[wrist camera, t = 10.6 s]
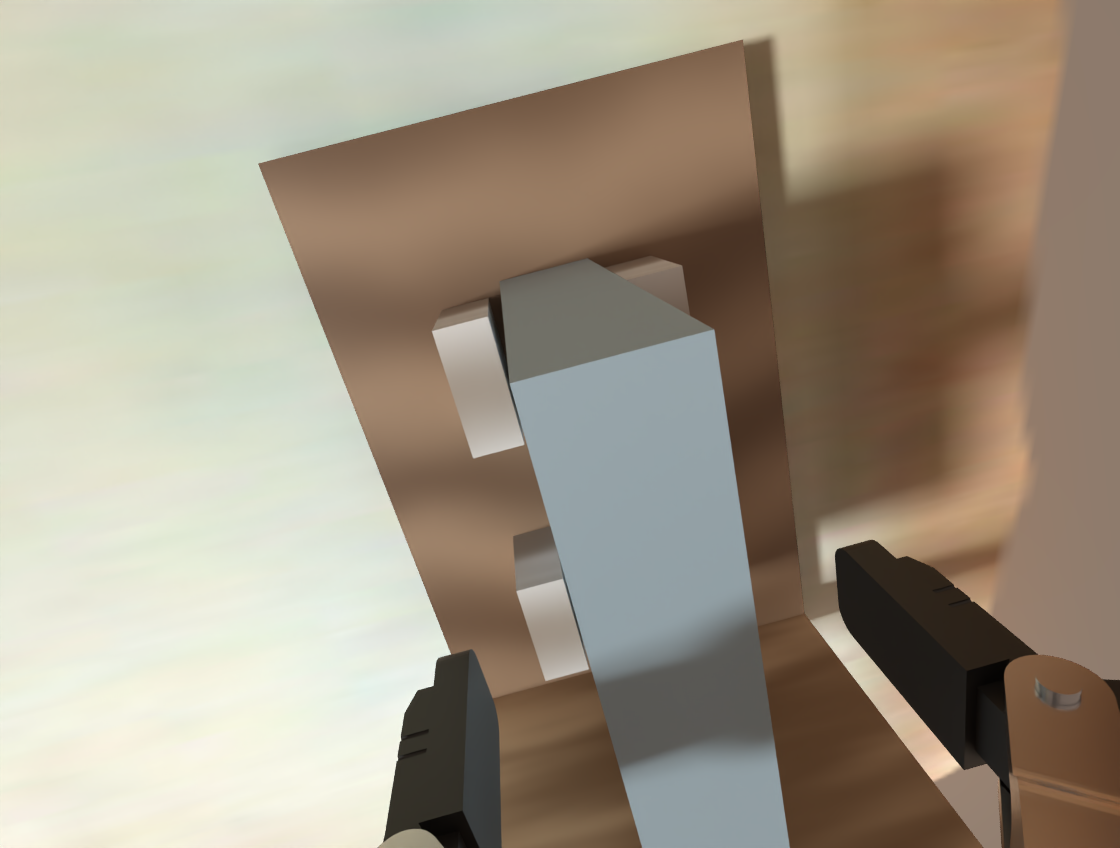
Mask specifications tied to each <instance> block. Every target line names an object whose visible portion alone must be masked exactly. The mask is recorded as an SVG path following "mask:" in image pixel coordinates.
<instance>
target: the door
mask: <svg viewBox="0 0 1120 848" xmlns="http://www.w3.org/2000/svg"><path fill="white" fill-rule="evenodd" d="M499 282H500V292H501V302H502V312H503V322H504V332H505V342H506V352H507V362H508V372H509V382H510V387H511V390H512V394H513V397H514V401H515V404H516V408H517V411H518V415H519V418H520V422H521V425H522V429H523V432H524V436H525V439H526V443H527V446H528V450H529V453H530V457H531V460H532V464H533V467H534V471H535V474H536V478H537V481H538V485H539V488H540V492H541V495H542V499H543V502H544V506H545V509H546V513H547V516H548V520H549V523H550V527H551V530H552V534H553V537H554V541H555V544H556V548H557V551H558V555H559V558H560V562H561V565H562V569H563V572H564V576H565V579H566V583H567V586H568V590H569V593H570V597H571V600H572V604H573V607H574V611H575V614H576V618H577V621H578V625H579V628H580V632H581V635H582V639H583V642H584V646H585V649H586V653H587V656H588V660H589V663H590V667H591V670H592V674H593V677H594V681H595V684H596V688H597V691H598V695H599V698H600V702H601V705H602V709H603V712H604V716H605V719H606V723H607V726H608V730H609V733H610V737H611V740H612V744H613V747H614V751H615V754H616V758H617V761H618V765H619V768H620V772H621V775H622V779H623V782H624V786H625V789H626V793H627V796H628V800H629V803H630V807H631V810H632V814H633V817H634V821H635V824H636V828H637V831H638V835H639V838H640V842H641V845H642V848H790V846H789V839H788V832H787V825H786V818H785V811H784V805H783V798H782V791H781V784H780V777H779V770H778V763H777V757H776V750H775V743H774V736H773V729H772V722H771V715H770V709H769V702H768V695H767V688H766V681H765V674H764V667H763V661H762V654H761V647H760V640H759V633H758V626H757V619H756V613H755V606H754V599H753V592H752V585H751V578H750V571H749V564H748V558H747V551H746V544H745V537H744V530H743V523H742V516H741V510H740V503H739V496H738V489H737V482H736V475H735V468H734V462H733V455H732V448H731V441H730V434H729V427H728V420H727V414H726V407H725V400H724V393H723V386H722V379H721V372H720V366H719V359H718V352H717V345H716V338H715V331H714V329H713V328H711V327H709V326H707V325H706V324H704V323H702V322H700V321H698V320H697V319H695V318H693V317H691V316H689V315H688V314H686V313H684V312H682V311H681V310H679V309H677V308H675V307H673V306H672V305H670V304H668V303H666V302H664V301H663V300H661V299H659V298H657V297H655V296H654V295H652V294H650V293H648V292H647V291H645V290H643V289H641V288H639V287H638V286H636V285H634V284H632V283H630V282H629V281H627V280H625V279H623V278H622V277H620V276H618V275H616V274H614V273H613V272H611V271H609V270H607V269H605V268H604V267H602V266H600V265H598V264H596V263H595V262H593V261H591V260H589V259H588V258H586V259H583V260H579V261H575V262H571V263H567V264H563V265H560V266H556V267H552V268H548V269H544V270H541V271H537V272H533V273H529V274H525V275H521V276H518V277H514V278H510V279H506V280H502V281H499Z"/></svg>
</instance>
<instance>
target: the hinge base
mask: <svg viewBox="0 0 1120 848" xmlns="http://www.w3.org/2000/svg"><path fill="white" fill-rule="evenodd" d="M259 167H260V169H261V172H262V175H263V177H264V180H265V182H266V185H267V187H268V190H269V192H270V195H271V197H272V200H273V203H274V205H275V208H276V210H277V213H278V215H279V218H280V220H281V223H282V225H283V228H284V230H285V233H286V236H287V238H288V241H289V243H290V246H291V248H292V251H293V253H294V256H295V258H296V261H297V264H298V266H299V269H300V271H301V274H302V276H303V279H304V281H305V284H306V286H307V289H308V291H309V294H310V297H311V299H312V302H313V304H314V307H315V309H316V312H317V314H318V317H319V319H320V322H321V325H322V327H323V330H324V332H325V335H326V337H327V340H328V342H329V345H330V347H331V350H332V352H333V355H334V358H335V360H336V363H337V365H338V368H339V370H340V373H341V375H342V378H343V380H344V383H345V386H346V388H347V391H348V393H349V396H350V398H351V401H352V403H353V406H354V408H355V411H356V413H357V416H358V419H359V421H360V424H361V426H362V429H363V431H364V434H365V436H366V439H367V441H368V444H369V447H370V449H371V452H372V454H373V457H374V459H375V462H376V464H377V467H378V469H379V472H380V474H381V477H382V480H383V482H384V485H385V487H386V490H387V492H388V495H389V497H390V500H391V502H392V505H393V508H394V510H395V513H396V515H397V518H398V520H399V523H400V525H401V528H402V530H403V533H404V535H405V538H406V541H407V543H408V546H409V548H410V551H411V553H412V556H413V558H414V561H415V563H416V566H417V569H418V571H419V574H420V576H421V579H422V581H423V584H424V586H425V589H426V591H427V594H428V596H429V599H430V602H431V604H432V607H433V609H434V612H435V614H436V617H437V619H438V622H439V624H440V627H441V630H442V632H443V635H444V637H445V640H446V642H447V645H448V647H449V650H450V652H451V655H452V654H455V653H459V652H462V651H466V650H470V649H472V650H473V651H474V652H475V654H476V656H477V659H478V661H479V664H480V667H481V669H482V672H483V674H484V677H485V680H486V682H487V685H488V687H489V690H490V693H491V695H492V698H493V701H494V704H495V708H496V712H497V717H498V723H499V741H500V789H501V838H502V848H642V845H641V842H640V838H639V835H638V831H637V828H636V824H635V821H634V817H633V814H632V810H631V807H630V803H629V800H628V796H627V793H626V789H625V786H624V782H623V779H622V775H621V772H620V768H619V765H618V761H617V758H616V754H615V751H614V747H613V744H612V740H611V737H610V733H609V730H608V726H607V723H606V719H605V716H604V712H603V709H602V705H601V702H600V698H599V695H598V691H597V688H596V684H595V681H594V677H593V674H592V670H591V667H590V663H589V660H588V656H587V653H586V649H585V646H584V642H583V639H582V635H581V632H580V628H579V625H578V621H577V618H576V614H575V611H574V607H573V604H572V600H571V597H570V593H569V590H568V586H567V583H566V579H565V576H564V572H563V569H562V565H561V562H560V558H559V555H558V551H557V548H556V544H555V541H554V537H553V534H552V530H551V527H550V523H549V520H548V516H547V513H546V509H545V506H544V502H543V499H542V495H541V492H540V488H539V485H538V481H537V478H536V474H535V471H534V467H533V464H532V460H531V457H530V453H529V450H528V446H527V443H526V439H525V436H524V432H523V429H522V425H521V422H520V418H519V415H518V411H517V408H516V404H515V401H514V397H513V394H512V390H511V387H510V382H509V372H508V362H507V352H506V342H505V332H504V322H503V312H502V302H501V292H500V282H499V281H502V280H506V279H510V278H514V277H518V276H521V275H525V274H529V273H533V272H537V271H541V270H544V269H548V268H552V267H556V266H560V265H563V264H567V263H571V262H575V261H579V260H583V259H586V258H588V259H589V260H591V261H593V262H595V263H596V264H598V265H600V266H602V267H604V268H605V269H607V270H609V271H611V272H613V273H614V274H616V275H618V276H620V277H622V278H623V279H625V280H627V281H629V282H630V283H632V284H634V285H636V286H638V287H639V288H641V289H643V290H645V291H647V292H648V293H650V294H652V295H654V296H655V297H657V298H659V299H661V300H663V301H664V302H666V303H668V304H670V305H672V306H673V307H675V308H677V309H679V310H681V311H682V312H684V313H686V314H688V315H689V316H691V317H693V318H695V319H697V320H698V321H700V322H702V323H704V324H706V325H707V326H709V327H711V328H713V329H714V331H715V338H716V345H717V352H718V359H719V366H720V372H721V379H722V386H723V393H724V400H725V407H726V414H727V420H728V427H729V434H730V441H731V448H732V455H733V462H734V468H735V475H736V482H737V489H738V496H739V503H740V510H741V516H742V523H743V530H744V537H745V544H746V551H747V558H748V564H749V571H750V578H751V585H752V592H753V599H754V606H755V613H756V619H757V626H758V633H759V640H760V647H761V654H762V661H763V667H764V674H765V681H766V688H767V695H768V702H769V709H770V715H771V722H772V729H773V736H774V743H775V750H776V757H777V763H778V770H779V777H780V784H781V791H782V798H783V805H784V811H785V818H786V825H787V832H788V839H789V846H790V848H983V847H982V845H981V844H980V843H979V841H978V840H977V839H976V838H975V836H974V835H973V833H972V832H971V831H970V830H969V828H968V827H967V826H966V824H965V823H964V822H963V821H962V819H961V818H960V816H959V815H958V814H957V813H956V811H955V810H954V809H953V807H952V806H951V805H950V803H949V802H948V801H947V799H946V798H945V797H944V796H943V794H942V793H941V792H940V790H939V789H938V788H937V786H936V785H935V784H934V782H933V781H932V780H931V779H930V777H929V776H928V775H927V773H926V772H925V771H924V769H923V768H922V767H921V765H920V764H919V763H918V762H917V760H916V759H915V758H914V756H913V755H912V754H911V752H910V751H909V750H908V748H907V747H906V746H905V745H904V743H903V742H902V741H901V739H900V738H899V737H898V735H897V734H896V733H895V731H894V730H893V729H892V728H891V726H890V725H889V724H888V722H887V721H886V720H885V718H884V717H883V716H882V714H881V713H880V712H879V711H878V709H877V708H876V707H875V705H874V704H873V703H872V701H871V700H870V699H869V697H868V696H867V695H866V694H865V692H864V691H863V690H862V688H861V687H860V686H859V684H858V683H857V682H856V680H855V679H854V678H853V677H852V675H851V674H850V673H849V671H848V670H847V669H846V667H845V666H844V665H843V663H842V662H841V661H840V660H839V658H838V657H837V656H836V654H835V653H834V652H833V650H832V649H831V648H830V646H829V645H828V644H827V643H826V641H825V640H824V639H823V637H822V636H821V635H820V633H819V632H818V631H817V629H816V628H815V627H814V626H813V624H812V623H811V622H810V620H809V619H808V618H807V616H806V615H805V614H804V605H803V596H802V587H801V577H800V568H799V559H798V549H797V540H796V531H795V521H794V512H793V503H792V493H791V484H790V475H789V465H788V456H787V447H786V437H785V428H784V419H783V410H782V400H781V391H780V382H779V372H778V363H777V354H776V344H775V335H774V326H773V316H772V307H771V298H770V288H769V279H768V270H767V260H766V251H765V242H764V232H763V223H762V214H761V205H760V195H759V186H758V177H757V167H756V158H755V149H754V139H753V130H752V121H751V111H750V102H749V93H748V83H747V74H746V65H745V55H744V46H743V40H740V41H736V42H732V43H728V44H724V45H720V46H716V47H712V48H709V49H705V50H701V51H697V52H693V53H689V54H685V55H681V56H677V57H673V58H669V59H666V60H662V61H658V62H654V63H650V64H646V65H642V66H638V67H634V68H630V69H626V70H623V71H619V72H615V73H611V74H607V75H603V76H599V77H595V78H591V79H587V80H583V81H580V82H576V83H572V84H568V85H564V86H560V87H556V88H552V89H548V90H544V91H540V92H537V93H533V94H529V95H525V96H521V97H517V98H513V99H509V100H505V101H501V102H497V103H494V104H490V105H486V106H482V107H478V108H474V109H470V110H466V111H462V112H458V113H454V114H451V115H447V116H443V117H439V118H435V119H431V120H427V121H423V122H419V123H415V124H411V125H408V126H404V127H400V128H396V129H392V130H388V131H384V132H380V133H376V134H372V135H369V136H365V137H361V138H357V139H353V140H349V141H345V142H341V143H337V144H333V145H329V146H326V147H322V148H318V149H314V150H310V151H306V152H302V153H298V154H294V155H290V156H286V157H283V158H279V159H275V160H271V161H267V162H263V163H259Z"/></svg>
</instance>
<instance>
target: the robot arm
mask: <svg viewBox="0 0 1120 848" xmlns="http://www.w3.org/2000/svg"><path fill="white" fill-rule="evenodd" d="M835 563H836V576H837V589H838V602H839V609H840V613H841V616H842V618H843V621H844V623H845V625H846V627H847V629H848V630H849V632H850V633H851V635H852V636H853V637H854V638H855V640H856V641H857V642H858V643H859V644H860V646H861V647H862V648H863V649H864V650H865V652H866V653H867V654H868V655H869V656H870V658H871V659H872V660H873V661H874V662H875V664H876V665H877V666H878V667H879V668H880V670H881V671H882V672H883V673H884V674H885V676H886V677H887V678H888V679H889V680H890V682H891V683H892V684H893V685H894V686H895V688H896V689H897V690H898V691H899V692H900V694H901V695H902V696H903V697H904V699H905V700H906V701H907V702H908V703H909V705H910V706H911V707H912V708H913V709H914V711H915V712H916V713H917V714H918V715H919V717H920V718H921V719H922V720H923V721H924V723H925V724H926V725H927V726H928V727H929V729H930V730H931V731H932V732H933V733H934V735H935V736H936V737H937V738H938V739H939V741H940V742H941V743H942V744H943V745H944V747H945V748H946V749H947V750H948V751H949V753H950V754H951V755H952V756H953V757H954V759H955V760H956V761H957V762H958V763H959V765H960V766H961V767H962V768H963V769H964V770H966V769H970V768H973V767H977V766H980V765H984V764H988V765H989V767H990V768H991V769H992V770H993V771H994V772H995V773H996V775H997V776H998V798H999V799H998V800H999V815H1000V828H1001V829H1000V830H1001V844H1002V848H1120V680H1104V679H1101V678H1100V677H1099V676H1098V675H1097V674H1095V673H1093V672H1092V671H1090V670H1089V669H1087V668H1085V667H1083V666H1081V665H1079V664H1077V663H1074V662H1072V661H1069V660H1066V659H1063V658H1059V657H1054V656H1048V655H1038V654H1036V653H1035V652H1034V651H1033V650H1032V649H1031V648H1029V647H1028V646H1027V645H1026V644H1025V643H1023V642H1022V641H1021V640H1020V639H1019V638H1017V637H1016V636H1015V635H1014V634H1013V633H1011V632H1010V631H1009V630H1008V629H1007V628H1005V627H1004V626H1003V625H1002V624H1001V623H999V622H998V621H997V620H996V619H995V618H993V617H992V616H991V615H990V614H989V613H987V612H986V611H985V610H984V609H982V608H981V607H980V606H979V605H978V604H976V603H975V602H971V600H970V598H969V597H968V596H967V595H966V594H964V593H963V592H962V591H961V590H960V589H958V588H955V587H954V584H952V583H951V582H950V581H949V580H948V579H946V578H945V577H944V576H943V575H942V574H940V573H939V572H938V571H937V570H936V569H934V568H933V567H930V566H928V565H926V564H924V563H921V562H919V561H917V560H915V559H912V558H910V557H908V556H906V557H902V558H898V559H896V558H895V557H894V556H893V555H892V554H891V553H889V552H888V551H887V550H886V549H885V548H884V547H883V546H881V545H880V544H879V543H878V542H876V541H875V540H868V541H865V542H861V543H857V544H854V545H850V546H846V547H843V548H839V549H837V550H836V553H835ZM378 848H502V838H501V789H500V741H499V723H498V717H497V712H496V708H495V704H494V701H493V698H492V695H491V693H490V690H489V687H488V685H487V682H486V680H485V677H484V674H483V672H482V669H481V667H480V664H479V661H478V659H477V656H476V654H475V652H474V651H473V650H472V649H470V650H466V651H462V652H459V653H455V654H452V655H448V656H444V657H441V658H438V660H437V662H436V669H435V678H434V686H432V687H429V688H425V689H421V690H418V691H417V692H416V694H415V696H414V698H413V700H412V701H411V703H410V705H409V707H408V708H407V710H406V712H405V714H404V720H403V726H402V733H401V741H400V745H399V751H398V761H397V763H396V770H395V776H394V782H393V788H392V794H391V800H390V807H389V813H388V819H387V825H386V831H385V836H384V841H383V843H382V844H381V845H380V846H379V847H378Z"/></svg>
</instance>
